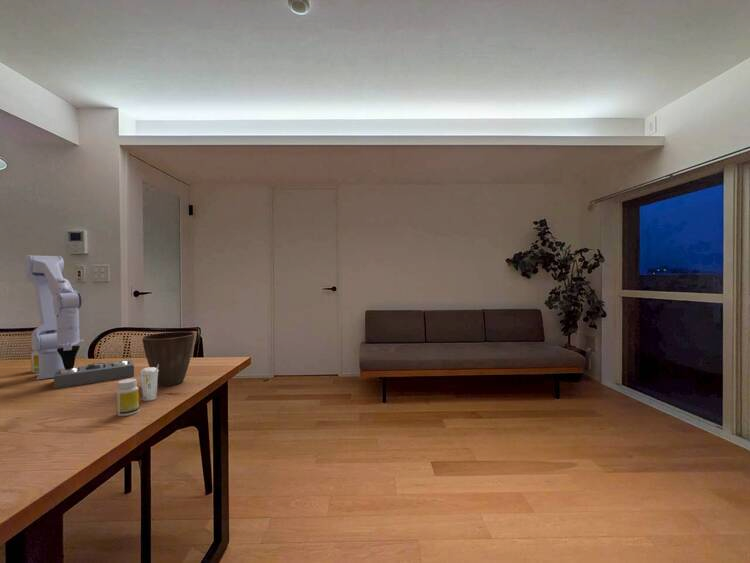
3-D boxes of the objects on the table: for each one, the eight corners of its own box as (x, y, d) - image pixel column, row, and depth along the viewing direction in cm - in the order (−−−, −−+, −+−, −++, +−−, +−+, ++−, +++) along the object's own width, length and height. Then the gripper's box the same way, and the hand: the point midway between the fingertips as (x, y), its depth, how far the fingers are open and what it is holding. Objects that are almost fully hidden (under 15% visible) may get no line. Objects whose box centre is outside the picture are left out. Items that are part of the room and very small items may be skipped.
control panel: (56, 380, 120) (56, 369, 120) (131, 370, 133) (130, 359, 133) (54, 388, 112) (53, 376, 112) (134, 376, 125) (133, 365, 125)
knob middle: (87, 376, 123) (87, 363, 123) (103, 374, 126) (103, 361, 126) (87, 379, 119) (87, 366, 119) (104, 377, 122) (103, 364, 122)
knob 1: (61, 381, 118) (60, 368, 118) (78, 378, 121) (77, 365, 121) (60, 384, 115) (59, 370, 115) (77, 381, 118) (77, 368, 118)
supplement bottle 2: (143, 410, 93) (142, 379, 93) (125, 417, 88) (124, 384, 88) (130, 408, 94) (129, 377, 94) (112, 415, 90) (111, 382, 90)
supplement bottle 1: (27, 372, 132) (27, 346, 131) (44, 368, 137) (43, 344, 137) (38, 373, 130) (37, 347, 130) (54, 369, 135) (53, 344, 135)
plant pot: (131, 388, 111) (130, 338, 111) (170, 375, 126) (169, 330, 126) (169, 392, 107) (168, 340, 107) (205, 378, 122) (204, 332, 122)
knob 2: (112, 373, 127) (112, 360, 127) (127, 371, 130) (127, 359, 130) (113, 376, 124) (113, 363, 124) (128, 373, 127) (128, 361, 127)
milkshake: (152, 402, 99) (151, 367, 98) (136, 401, 100) (135, 366, 100) (165, 397, 103) (164, 363, 103) (149, 396, 104) (148, 362, 104)
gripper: (83, 329, 115) (84, 370, 115) (83, 324, 126) (84, 362, 126) (54, 331, 110) (55, 374, 110) (57, 326, 121) (58, 365, 122)
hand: (69, 368), depth 118 cm, fingers closed, pressing on knob 1
